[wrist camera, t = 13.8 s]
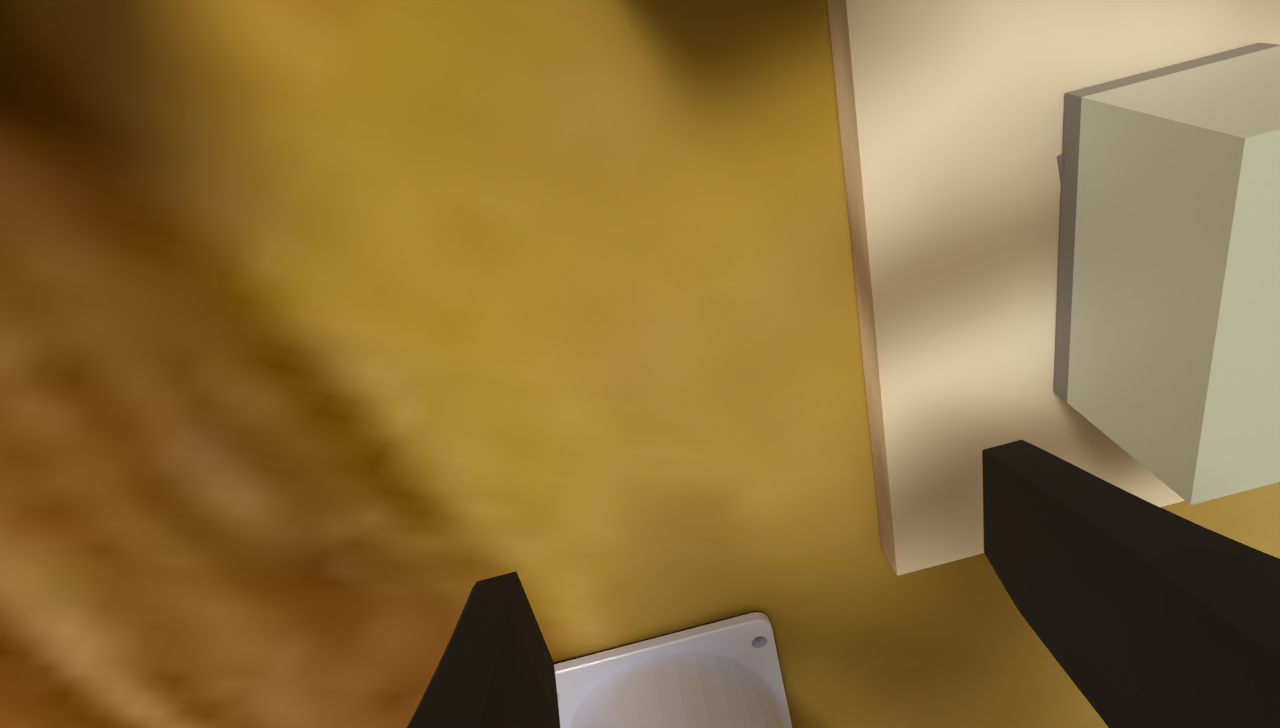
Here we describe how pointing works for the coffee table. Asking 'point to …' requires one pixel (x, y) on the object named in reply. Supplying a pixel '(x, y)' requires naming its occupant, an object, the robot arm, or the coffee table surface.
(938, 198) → the birch board
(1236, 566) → the robot arm
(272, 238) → the coffee table surface
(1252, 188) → the block
